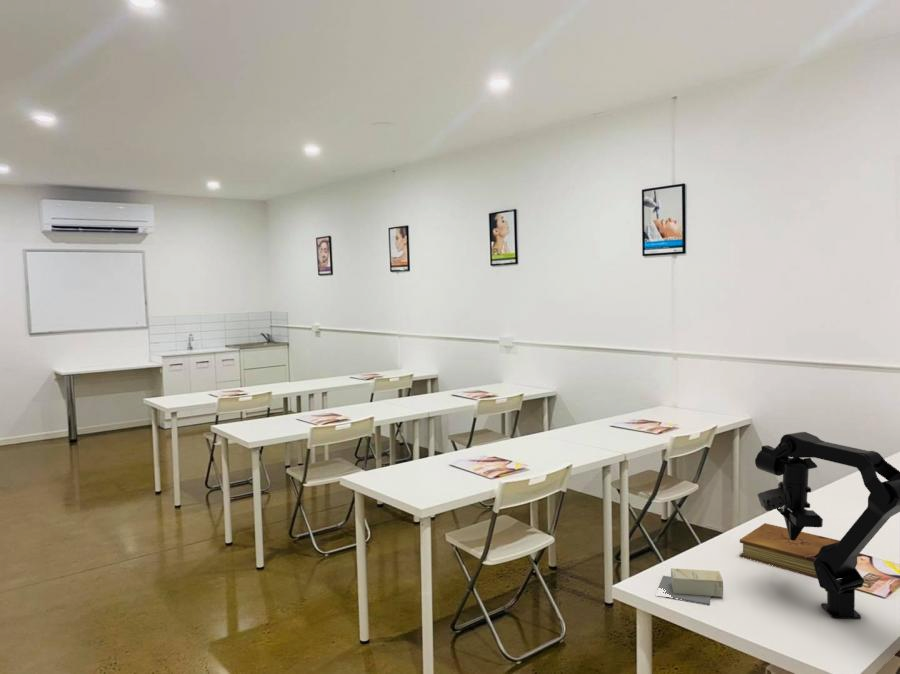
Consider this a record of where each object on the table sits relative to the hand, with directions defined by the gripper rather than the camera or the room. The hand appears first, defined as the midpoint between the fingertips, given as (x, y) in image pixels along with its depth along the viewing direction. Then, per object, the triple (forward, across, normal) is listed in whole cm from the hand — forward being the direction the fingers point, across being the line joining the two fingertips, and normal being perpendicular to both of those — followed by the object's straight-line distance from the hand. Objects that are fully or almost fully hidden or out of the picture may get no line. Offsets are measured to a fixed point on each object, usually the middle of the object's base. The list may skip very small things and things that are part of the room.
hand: (792, 539), depth 169 cm
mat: (+14, +2, -27) cm, 30 cm away
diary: (+15, -20, +9) cm, 26 cm away
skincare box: (+11, +3, -18) cm, 21 cm away
